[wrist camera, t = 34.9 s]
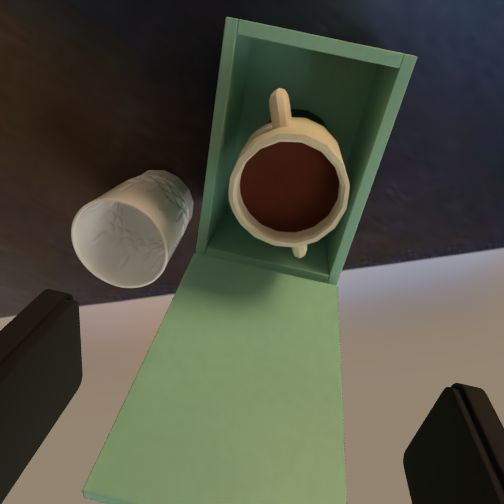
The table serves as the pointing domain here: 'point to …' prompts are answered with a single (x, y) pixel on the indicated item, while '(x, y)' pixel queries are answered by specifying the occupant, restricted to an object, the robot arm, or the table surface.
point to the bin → (301, 98)
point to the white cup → (133, 228)
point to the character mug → (289, 179)
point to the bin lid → (233, 397)
